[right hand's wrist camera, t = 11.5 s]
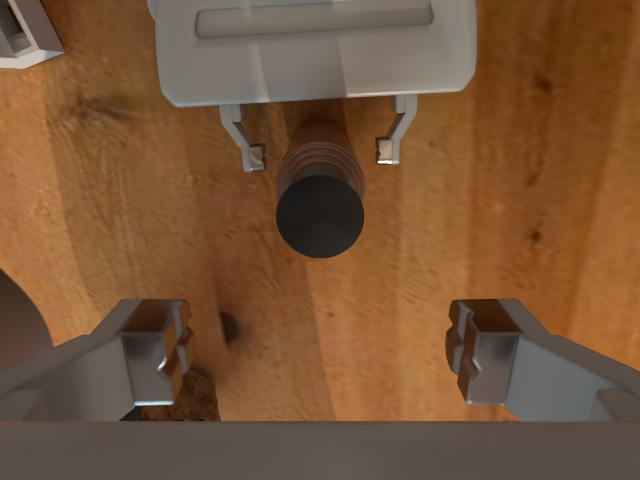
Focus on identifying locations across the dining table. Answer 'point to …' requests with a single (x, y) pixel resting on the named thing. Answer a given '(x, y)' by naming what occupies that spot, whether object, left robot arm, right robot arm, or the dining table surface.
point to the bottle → (320, 154)
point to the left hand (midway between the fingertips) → (321, 166)
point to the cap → (320, 212)
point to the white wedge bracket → (26, 35)
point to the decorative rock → (183, 403)
